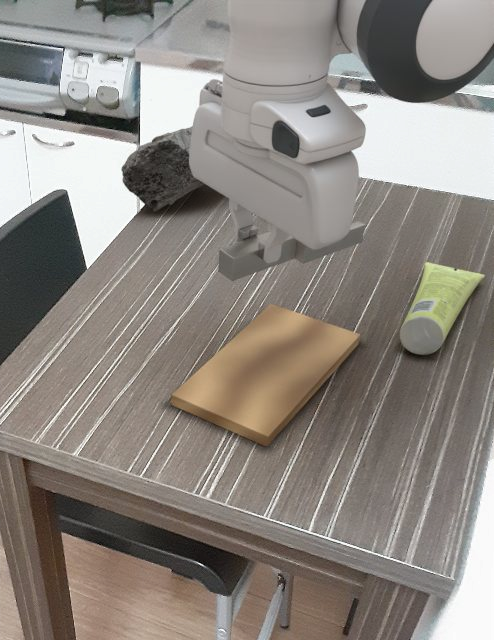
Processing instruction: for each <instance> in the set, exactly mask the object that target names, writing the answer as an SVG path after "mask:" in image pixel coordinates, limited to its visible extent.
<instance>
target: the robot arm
mask: <svg viewBox="0 0 494 640" xmlns="http://www.w3.org/2000/svg"><path fill="white" fill-rule="evenodd" d="M226 1H227V2H226V15H227V20H228V24H229V42H228V46H227V50H226V53H225V56H224V59H223V65H222V66H223V68H222V70H223V71H222V81H221V80H219V79H215V78H212V79H210V81H209V82H206V83H205V84H204V86H203V87H202V89H200V91H199V104H198V105H199V106H198V107H197V109H196V111H195V113H194V117H193V122H192V126H193V127H192V126H191V127H192V134H191V143H190V154H189V165H190V169H191V172H192V174H193V176H194V177H195V178H196V179H198V180H200V181H201V182H203V183H205V184H204V185H206V186H208V187H209V188H211V189H212V190H214V191H215V192H217V193H219V194H221V195H222V196H224V197H226V198H227V199H228V209H229V212H230V216H231V220H232V222H233V223H232V224H233V226H234V238H233V239H234V240H233V241H234V242H235V243H238V242H241V241H244V240H247V239H250V238H252V237H255V236H258V235H259V233H258V232H259V228H258V226H256V225H255V224H254V219H253V214H254V215H255V216H256V217H258V218H260V219H261V220H264V221H265V222H267V225H266V230H267V232H271V234H270V235H269V237H268V239H267V240H263V241H260V242H259V244H258V250H259V251H258V257H259V258H261V259H262V260H264V261H265V262H266V263H272V262H275V261H277V260H279V258H280V256H281V249H282V243H284V242H285V240H286V239H287V238H288V236H289V235H290V236H291V237H293V238H295V239H296V240H298V241H300V242H301V243H303V244H304V245H306V246H308V247H309V248H311V249H314V250H316V249H320V248H323V247H326V246H329V245H332V244H334V243H337V242H339V241H340V240H342V239H343V238H344V237H345V236H346V235H347V234H348V232H349V230H350V227H351V224H352V223H353V218H354V214H355V213H354V212H355V207H356V203H357V202H356V201H357V196H358V187H359V179H360V178H359V176H360V174H359V173H360V172H359V171H360V169H359V164H358V159H357V157H356V155H355V154H354V152H353V151H354V150H357V149H360V148H361V147H362V146H363V144H364V141H365V139H366V132H367V127H366V124H365V122H364V121H363V120H362V118H361V117H360V116H358V114H357V113H355V112H354V110H353V109H351V107H350V106H349V105H348V104H347V103H346V102H345V101H344V100H343V99H342V97H341V96H340V95H339V93H338V92H337V91H336V90H335V88H334V87H333V85H332V84H330V83H329V82H328V78H329V72H330V65H331V62H332V60H334V58H335V57H337V56H339V55H348V54H349V55H350V54H353V55H354V56H355V57H356V58H357V59H358V60H359V61H361V63H363V65H364V67H365V68H366V70H367V71H368V73H369V74H370V76H371V77H372V79H373V80H374V82H375V83H376V85H377V86H378V87H379V88H380V89H381V90H382V91H383V92H384V93H385V94H386V95H388V96H390V97H391V98H393V99H395V100H397V101H401V102H405V103H411V104H424V103H431V102H434V101H438V100H441V99H444V98H447V97H449V96H451V95H453V94H455V93H457V92H458V91H460V90H462V89H463V88H464V87H466V86H467V85H469V84H470V83H471V82H473V81H474V80H475V79H477V77H479V75H481V74H482V72H483V71H485V69H486V68H487V67H488V66H489V65H490V64H491V62H492V61H493V60H494V0H226Z"/></svg>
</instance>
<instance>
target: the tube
mask: <svg viewBox="0 0 494 640" xmlns="http://www.w3.org/2000/svg"><path fill="white" fill-rule="evenodd" d="M484 278H485V274H483V273H478V272H473V271H468V270H465V269H460V268H456V267H451V266H445V265H441V264H437V263H432V262H428V261H426V262H425V263H424V267H423V274H422V278H421V280H420V283H419V287H418V289H417V291H416V294H415V297H414V300H413V301H412V304H411V306H410V308H409V310H408V313H407V314H406V317H405V319H404V321H403V323H402V325H401V327H400V331H399V340H400V342H401V345H402V346H403V347H404V348H405V349H406V350H407V351H408V352H410V353H412V354H415V355H421V356H427V355H431V354H433V353H435V352H437V351H438V350H439V349H440V348H441V347H442V345H443V344H444V343H445V341H446V338H447V337H448V334H449V332H450V331H451V330H452V327H453V325H454V323H455V322H456V320H457V318H458V316H459V315H460V313H461V311H462V309H463V307H464V306H465V304H466V303H467V301H468V299H470V297H471V295H472V293H473V292H474V290H475V289H476V288H477V286H478V285H479V284H480V282H481V281H482V280H483V279H484Z"/></svg>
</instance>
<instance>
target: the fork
mask: <svg viewBox="0 0 494 640" xmlns="http://www.w3.org/2000/svg"><path fill="white" fill-rule="evenodd" d="M365 230H366V224H365V223H363V222H361V221H360V220H359V221H355V222H352V223H351V227H350V230H349V232H348V234H347V235H346V236H345V237H344V238H343V239H342V240H340V241H339V242H337V243H334V244H332V245H329V246H326V247H323V248H320V249H316V250H314V249H311V248H309V247H308V246H306V245H304V244H303V243H301V242H300V241H298V240H296V239H295V238H293V237H291V236H290V235H289V236H288V238H287V239H286V240H285V242H284V243H282V249H281V256H280V258H279V260H277V261H275V262H272V263H266V262H265V261H264V260H262V259H261V258H259V257H258V251H259V250H258V244H259V242H260V241H263V240H267V239H268V237H269V235H270V234H271V232H269V231H267V232H264V233H261V234H257V235H256V236H255V237H252V238H250V239H247V240H244V241H241V242H238V243H236V242H235V243H232V244H229V245H226V246H224V247H220V248H219V251H218V268H217V272H218V273H220V274H221V275H223V276H224V277H225V278H227V279H228V280H229V281H231V282H234V281H237V280H239V279H242V278H245V277H247V276H251V275H253V274H257V273H259V272H261V271H264V270H267V269H270V268H273V267H276V266H278V265H281V264H284V263H286V262H290V261H292V260H296V261H298V262H300V263H301V264H303V265H304V264H307V263H309V262H312V261H314V260H318V259H320V258H323V257H326V256H329V255H331V254H334V253H336V252H340V251H342V250H345V249H348V248H350V247H351V248H352V247H353V246H356V245H359V244H361V243H363V239H364V234H365Z"/></svg>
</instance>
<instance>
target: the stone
mask: <svg viewBox="0 0 494 640" xmlns="http://www.w3.org/2000/svg"><path fill="white" fill-rule="evenodd" d="M192 127H193V125H192V126H190V127H187V128H180V129H177V130H175V131H172V132H166V133H163V134H161V135H157V136H155V137H154V138H152V139H151V141H150V142H147V143H144V144H141V145H139V146H138V147H137V149H136V150H134V151H133V152H131V153H130V154H129V156H128V157H127V158H126V161H125V162H124V164H123V165H122V166H121V173H122V184H123V185H124V187H125V188H126V189H127V190H128V191H129V192H130V193H132V194H133V195H134V196H136V197H137V198H138V199H139V200H140V201H141V203H143V204H144V205H147V206H148V207H149V209H151V211H152V212H154V213H156V212H158V211H159V210H161V209H162V208H163V207H166V206H168V205H170V206H173V204H174V203H175V202H176V201H177V200H179V199H181V198H183V197H184V196H185V195H187V194H189V193H190V192H192V191H194V190H196V189H198V188H201V187H202V186H204V185H206V184H205V183H203V182H201V181H200V180H198V179H196V178H195V177H194V176H193V174H192V172H191V169H190V165H189V154H190V143H191V134H192Z"/></svg>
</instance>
